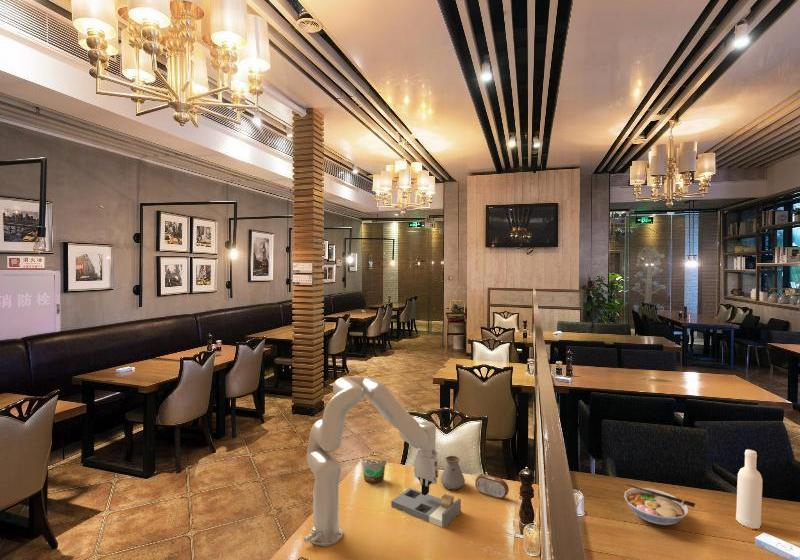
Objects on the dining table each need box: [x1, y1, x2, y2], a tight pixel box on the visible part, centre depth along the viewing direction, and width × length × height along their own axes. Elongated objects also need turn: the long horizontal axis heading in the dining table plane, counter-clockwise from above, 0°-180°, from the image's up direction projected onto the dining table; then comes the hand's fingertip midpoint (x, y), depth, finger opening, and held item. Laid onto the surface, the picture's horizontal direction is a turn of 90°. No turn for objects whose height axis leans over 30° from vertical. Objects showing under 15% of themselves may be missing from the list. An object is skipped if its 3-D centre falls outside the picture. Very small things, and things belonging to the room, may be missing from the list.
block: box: [440, 493, 455, 509], centre depth 185 cm, size 4×4×4 cm
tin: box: [475, 473, 510, 500], centre depth 199 cm, size 15×3×8 cm, turn 58°
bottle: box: [735, 449, 763, 529], centre depth 177 cm, size 8×8×30 cm
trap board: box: [390, 487, 462, 529], centre depth 187 cm, size 14×26×6 cm, turn 55°
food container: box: [361, 457, 388, 485], centre depth 210 cm, size 12×6×10 cm, turn 80°
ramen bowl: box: [623, 483, 696, 526], centre depth 181 cm, size 25×23×8 cm
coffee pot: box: [439, 455, 466, 490], centre depth 202 cm, size 21×12×15 cm, turn 174°
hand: (425, 493), depth 190 cm, fingers closed
